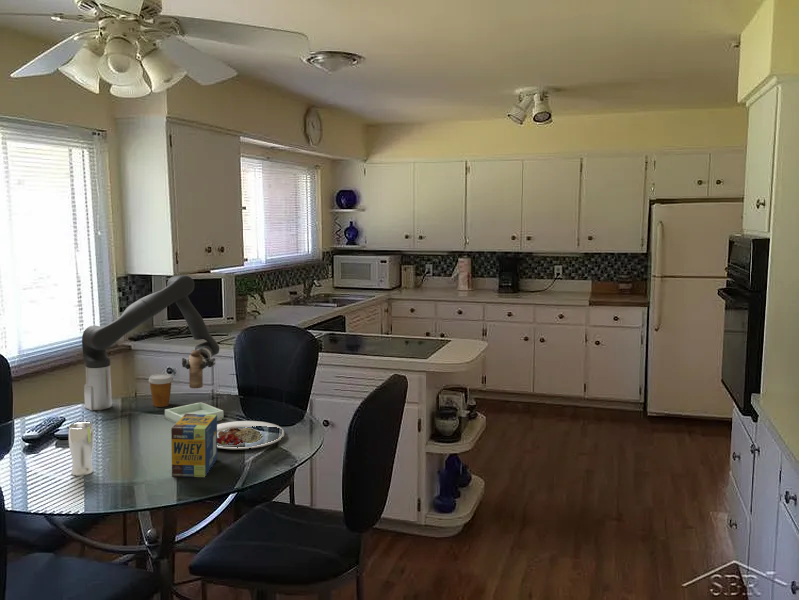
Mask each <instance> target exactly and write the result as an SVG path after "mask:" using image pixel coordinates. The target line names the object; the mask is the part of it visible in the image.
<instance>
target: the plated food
mask: <svg viewBox="0 0 799 600" xmlns="http://www.w3.org/2000/svg"><path fill="white" fill-rule="evenodd" d="M252 426H253V427H254V426H255V427H256V426H267V427H277V428H280V429H282V435H281V436H280V437H279V438H278V439H276V440H274V441H271V442H268V443H265V444H261V445H257V446H252V447H238V448H237V447H223V446H218V445H217V449H225V450H249V448H251V449H256V448H262V447H266V446H269V445H272V444H276V443H277V442H279V441H281V440H282V439H283V438H284V436H285V430H284V428H282V427H281V426H279V425H277V424H275V423H270V422H266V421H259V420H258V421H257V420H238V421H237V420H235V421H229V422H228V421H227V422H223V423H219V424H218V423H217V443H219V444H221V445H227V444H228V445H237V444H239V443H240V442H241V443H243V442H247V443H253V442H257V441H258V440H260V439H261V438H262V437H263V436H261V435H262V434H260V432H259V431H257V430H255V429H253V428H243V429H239V428H236V427H252ZM227 429H229V431H227V432H224V431H225V430H227ZM260 436H261V437H260ZM282 437H283V438H282ZM281 438H282V439H281Z"/></svg>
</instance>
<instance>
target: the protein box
mask: <svg viewBox="0 0 799 600" xmlns="http://www.w3.org/2000/svg"><path fill="white" fill-rule="evenodd" d="M217 425H218V421H217V415H206V414H185V415H184V416H183V417H182V418H181V419H180V420H179V421H178V422H177V423H174V425H173V426H172V427H171V431H170V432H171V433H170V434H171V438H170V439H171V443H170V444H171V446H170V447H171V477H175V478H176V477H177V478H179V477H180V478H181V477H182V478H206V477H205V476H207V475H208V474H209V473H210V471H211V469H212V468H213V466H214V465H215V464H216V462H217V461H216V460H218V448H217ZM215 461H216V462H215ZM214 463H215V464H214ZM213 464H214V465H213ZM211 467H212V468H211ZM210 468H211V469H210ZM209 470H210V471H209ZM207 473H208V474H207Z"/></svg>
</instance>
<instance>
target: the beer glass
mask: <svg viewBox="0 0 799 600" xmlns="http://www.w3.org/2000/svg"><path fill="white" fill-rule="evenodd" d="M94 438H95V436H94V426H93V423H91V422H88V421H87V422H86V421H81V422H75V423H72V424H70V425H69V426H68V447H69V450H70V451H69V452H70V455H71V461H72V468H71V475H72V476H74V475H76V476H75V477H83V476H88V475H90V474H92V473H93V472H94V469H93V463H92V458H93V457H92V456H93V452H94V451H93V450H94V442H95V441H94V440H95V439H94Z"/></svg>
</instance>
